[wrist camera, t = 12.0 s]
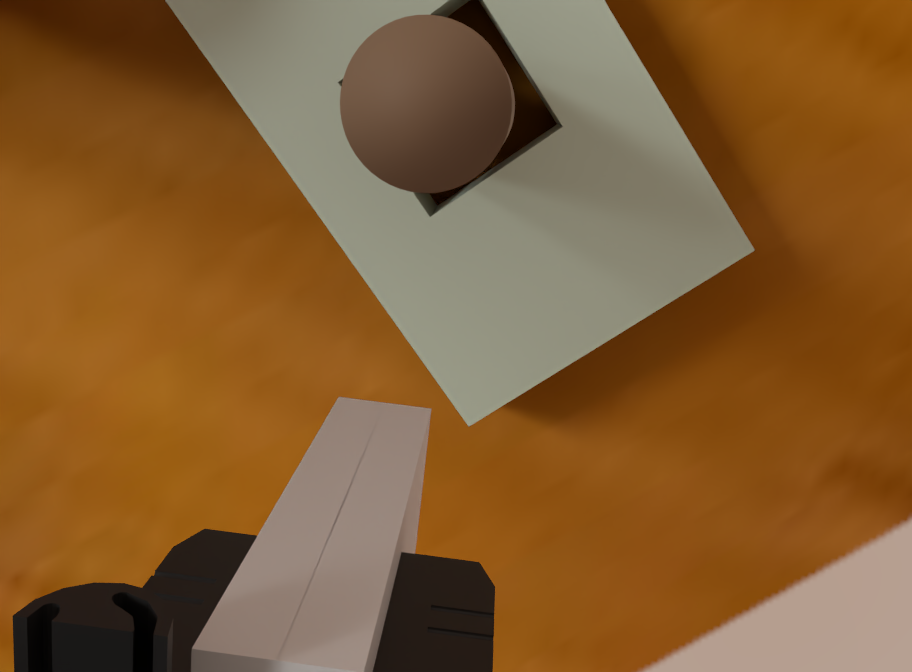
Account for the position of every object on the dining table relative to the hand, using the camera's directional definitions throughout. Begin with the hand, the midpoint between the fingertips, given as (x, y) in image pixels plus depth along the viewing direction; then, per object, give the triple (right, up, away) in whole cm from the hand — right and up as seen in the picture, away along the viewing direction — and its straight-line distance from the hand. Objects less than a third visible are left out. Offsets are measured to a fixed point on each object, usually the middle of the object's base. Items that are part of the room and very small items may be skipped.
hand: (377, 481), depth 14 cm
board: (+1, +11, +18) cm, 22 cm away
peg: (+1, +11, +19) cm, 22 cm away
